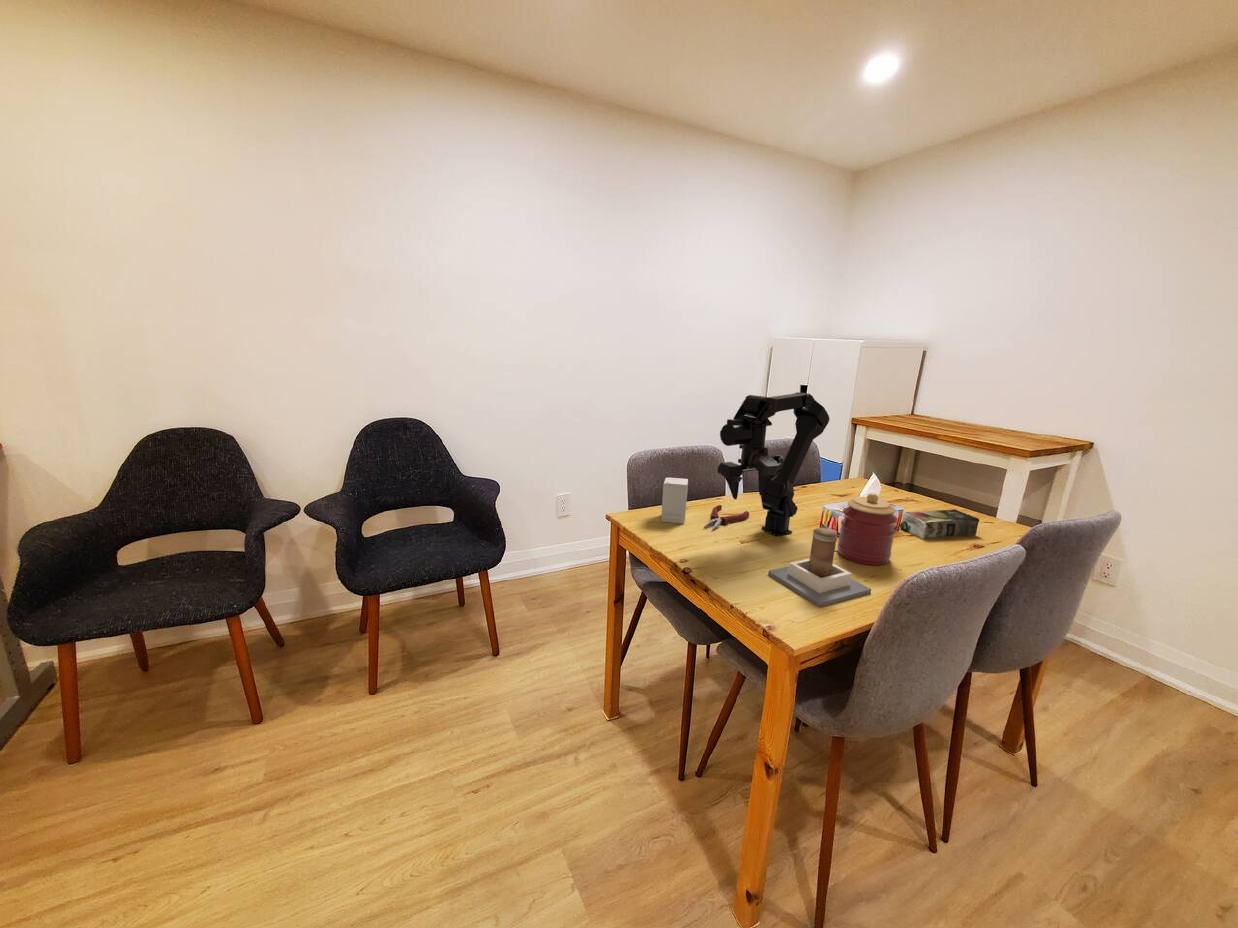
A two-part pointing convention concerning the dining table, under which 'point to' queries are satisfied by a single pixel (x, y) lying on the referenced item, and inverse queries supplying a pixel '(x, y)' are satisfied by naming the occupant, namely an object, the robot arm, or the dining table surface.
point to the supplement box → (674, 500)
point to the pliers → (724, 518)
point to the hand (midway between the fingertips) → (748, 497)
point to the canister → (867, 530)
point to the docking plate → (819, 583)
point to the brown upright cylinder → (822, 552)
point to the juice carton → (939, 523)
